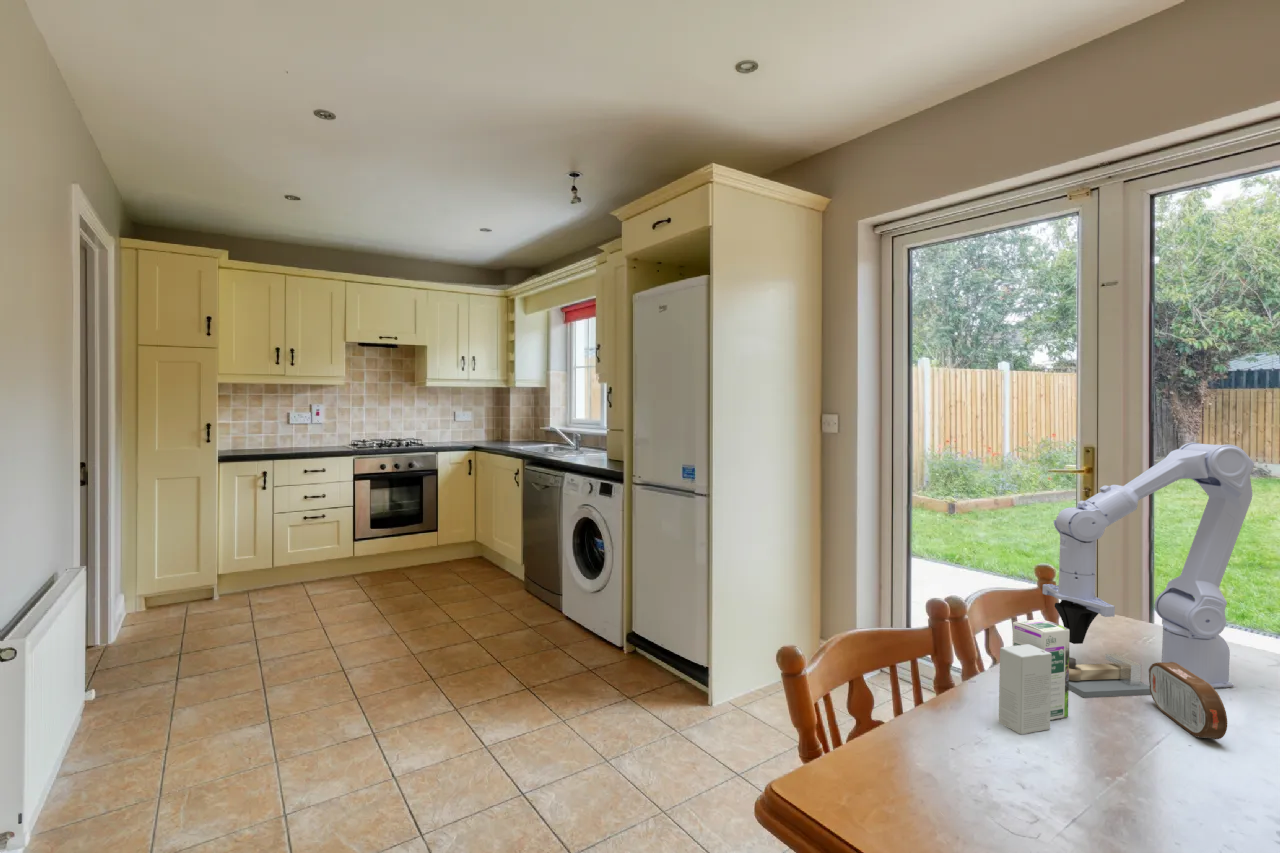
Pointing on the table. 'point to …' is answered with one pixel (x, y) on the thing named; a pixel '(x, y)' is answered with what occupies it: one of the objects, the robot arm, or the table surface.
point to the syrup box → (1057, 644)
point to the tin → (1187, 700)
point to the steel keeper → (1126, 669)
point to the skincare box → (1025, 688)
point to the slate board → (1106, 688)
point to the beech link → (1093, 671)
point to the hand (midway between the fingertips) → (1075, 642)
